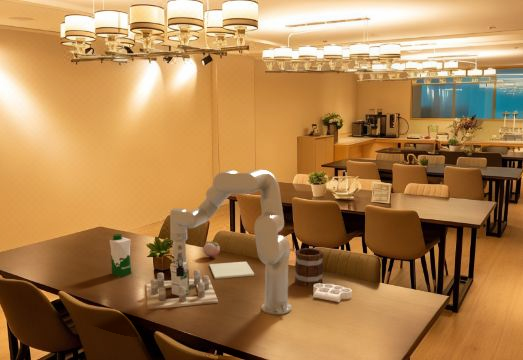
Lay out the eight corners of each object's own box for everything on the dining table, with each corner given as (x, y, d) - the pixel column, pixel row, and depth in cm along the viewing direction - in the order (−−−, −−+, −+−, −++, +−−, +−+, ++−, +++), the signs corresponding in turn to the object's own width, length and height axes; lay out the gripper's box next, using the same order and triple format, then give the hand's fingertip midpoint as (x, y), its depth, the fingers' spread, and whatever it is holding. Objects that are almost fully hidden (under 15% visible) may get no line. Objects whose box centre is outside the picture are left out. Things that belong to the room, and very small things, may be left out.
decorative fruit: (200, 259, 276) (200, 241, 274) (206, 254, 283) (206, 238, 282) (216, 260, 273) (216, 243, 271) (221, 256, 281) (221, 239, 279)
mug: (321, 288, 233) (322, 257, 231) (292, 285, 236) (293, 255, 233) (324, 274, 252) (325, 245, 250) (298, 272, 255) (298, 244, 252)
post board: (218, 302, 215) (217, 287, 214) (147, 309, 208) (146, 293, 207) (208, 279, 244) (208, 265, 243) (146, 284, 237) (145, 270, 236)
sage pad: (254, 275, 249) (254, 273, 249) (214, 278, 245) (214, 276, 245) (246, 263, 269) (246, 261, 269) (209, 266, 264) (209, 264, 264)
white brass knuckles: (306, 298, 222) (317, 287, 235) (345, 305, 214) (355, 293, 227) (306, 290, 221) (318, 280, 234) (345, 298, 213) (355, 286, 226)
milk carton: (123, 269, 258) (121, 232, 255) (134, 273, 252) (132, 235, 249) (108, 274, 251) (107, 236, 248) (120, 278, 245) (118, 239, 242)
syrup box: (180, 296, 222) (179, 265, 220) (171, 293, 226) (170, 263, 224) (189, 292, 227) (188, 262, 224) (180, 289, 230) (179, 259, 228)
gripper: (189, 240, 215) (189, 278, 217) (185, 230, 231) (185, 265, 234) (171, 241, 213) (172, 279, 216) (169, 231, 230) (169, 266, 232)
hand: (179, 272), depth 225 cm, fingers open, 9 cm apart
